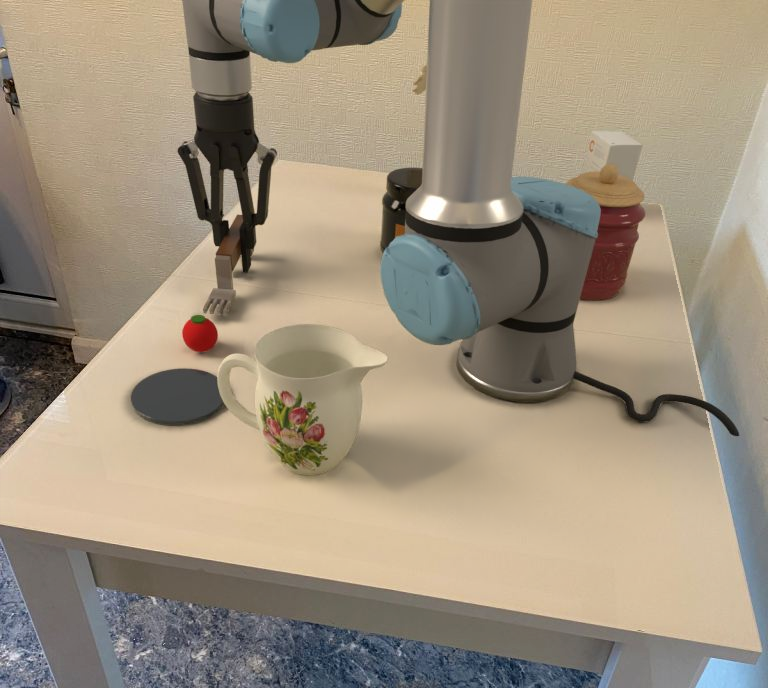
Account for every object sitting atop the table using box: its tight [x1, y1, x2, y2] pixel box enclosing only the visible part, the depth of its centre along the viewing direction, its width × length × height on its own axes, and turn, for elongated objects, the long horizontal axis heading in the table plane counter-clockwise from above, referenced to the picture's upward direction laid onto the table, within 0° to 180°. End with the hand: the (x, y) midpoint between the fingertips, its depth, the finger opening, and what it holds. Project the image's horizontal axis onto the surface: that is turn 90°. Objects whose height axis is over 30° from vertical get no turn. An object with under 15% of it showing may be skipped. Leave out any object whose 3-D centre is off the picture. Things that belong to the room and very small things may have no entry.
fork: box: [202, 214, 255, 316], centre depth 106 cm, size 21×3×6 cm, turn 176°
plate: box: [130, 368, 225, 426], centre depth 87 cm, size 11×11×1 cm
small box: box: [581, 130, 643, 181], centre depth 134 cm, size 8×6×13 cm
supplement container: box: [379, 167, 423, 254], centre depth 116 cm, size 10×10×12 cm
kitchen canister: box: [565, 164, 646, 301], centre depth 110 cm, size 13×13×18 cm
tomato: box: [181, 314, 219, 353], centre depth 94 cm, size 4×4×4 cm
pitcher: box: [216, 323, 389, 476], centre depth 76 cm, size 11×18×14 cm, turn 75°
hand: (237, 267), depth 110 cm, fingers closed on fork, 2 cm apart
